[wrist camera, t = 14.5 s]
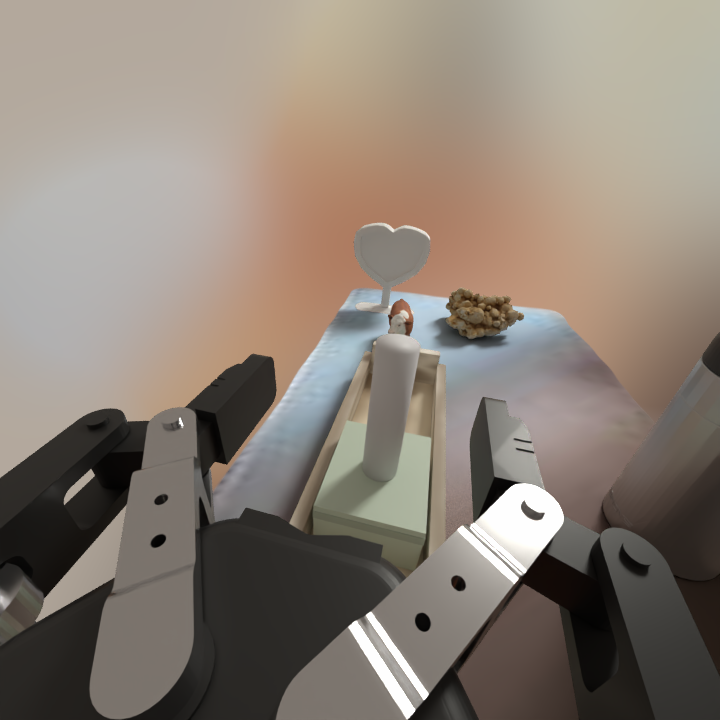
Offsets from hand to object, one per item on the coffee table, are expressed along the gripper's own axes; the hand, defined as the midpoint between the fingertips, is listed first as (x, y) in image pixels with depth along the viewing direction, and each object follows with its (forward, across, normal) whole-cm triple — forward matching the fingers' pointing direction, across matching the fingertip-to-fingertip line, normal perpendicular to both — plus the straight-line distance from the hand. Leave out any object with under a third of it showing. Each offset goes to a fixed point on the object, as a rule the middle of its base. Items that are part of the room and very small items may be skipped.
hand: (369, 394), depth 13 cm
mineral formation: (+57, -12, +23) cm, 63 cm away
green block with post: (+9, 0, +20) cm, 22 cm away
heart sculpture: (+61, +8, +23) cm, 65 cm away
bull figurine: (+44, +3, +22) cm, 49 cm away
